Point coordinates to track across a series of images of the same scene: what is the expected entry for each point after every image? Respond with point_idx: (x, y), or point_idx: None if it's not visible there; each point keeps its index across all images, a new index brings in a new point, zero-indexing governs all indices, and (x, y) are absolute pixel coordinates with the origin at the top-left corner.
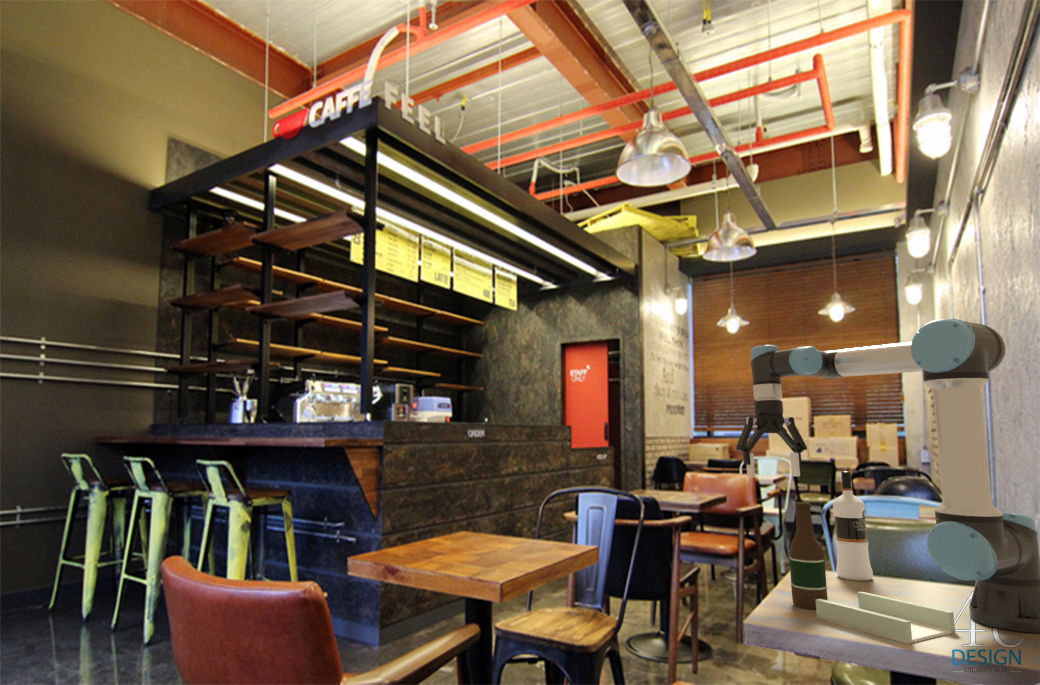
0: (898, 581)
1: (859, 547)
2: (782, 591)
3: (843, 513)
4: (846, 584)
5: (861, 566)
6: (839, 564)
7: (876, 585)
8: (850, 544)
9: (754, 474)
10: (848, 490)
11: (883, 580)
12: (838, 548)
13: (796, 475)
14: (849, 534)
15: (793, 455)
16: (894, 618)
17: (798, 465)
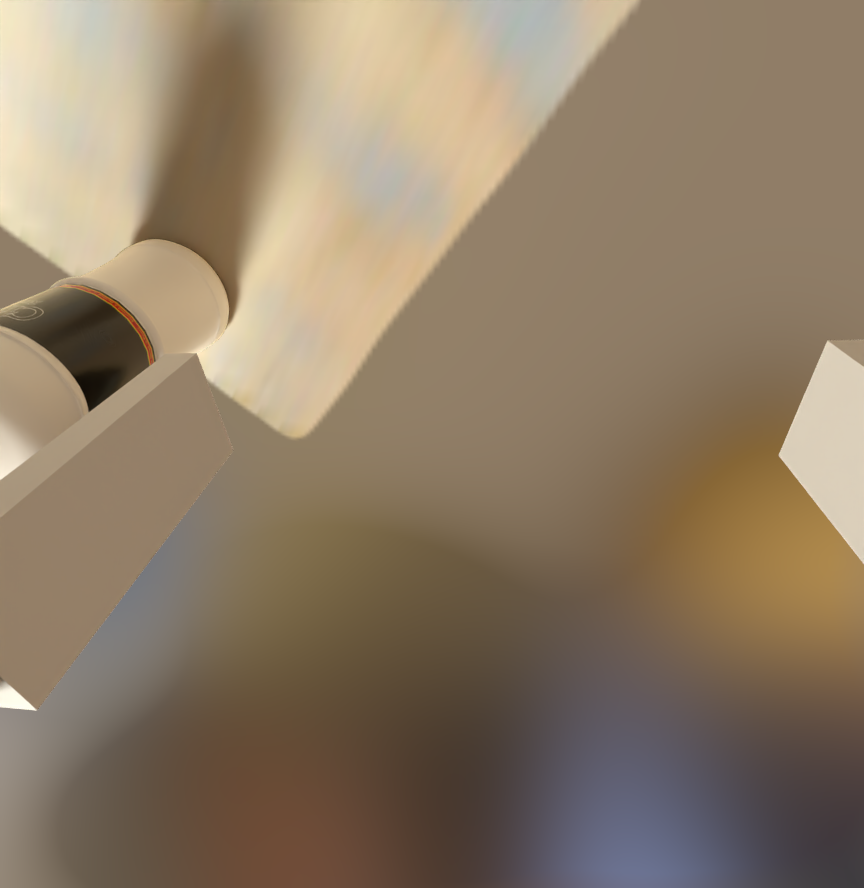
0: (52, 222)
1: (94, 277)
2: (540, 107)
3: (36, 363)
4: (243, 200)
5: (140, 253)
6: (206, 313)
7: (143, 168)
8: (121, 292)
9: (855, 358)
10: None
11: (98, 245)
12: (173, 337)
13: (199, 380)
14: (92, 309)
15: (22, 604)
16: None
17: (83, 426)
